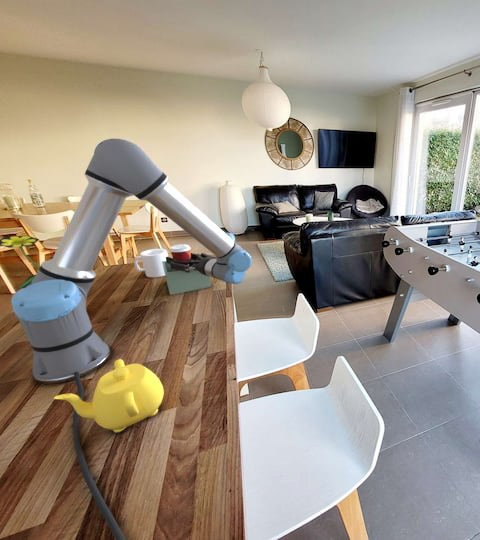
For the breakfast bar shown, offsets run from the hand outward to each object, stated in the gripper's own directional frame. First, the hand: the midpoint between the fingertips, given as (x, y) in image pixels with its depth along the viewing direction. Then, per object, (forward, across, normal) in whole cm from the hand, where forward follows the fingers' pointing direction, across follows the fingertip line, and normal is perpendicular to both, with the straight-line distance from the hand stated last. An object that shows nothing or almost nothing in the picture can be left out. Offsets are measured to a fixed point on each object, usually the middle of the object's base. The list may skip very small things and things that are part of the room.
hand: (176, 257), depth 125 cm
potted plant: (+3, -38, -12) cm, 40 cm away
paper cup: (-4, 0, -9) cm, 9 cm away
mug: (+19, 0, -12) cm, 22 cm away
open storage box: (-5, 0, -12) cm, 13 cm away
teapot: (-56, -51, -12) cm, 77 cm away
